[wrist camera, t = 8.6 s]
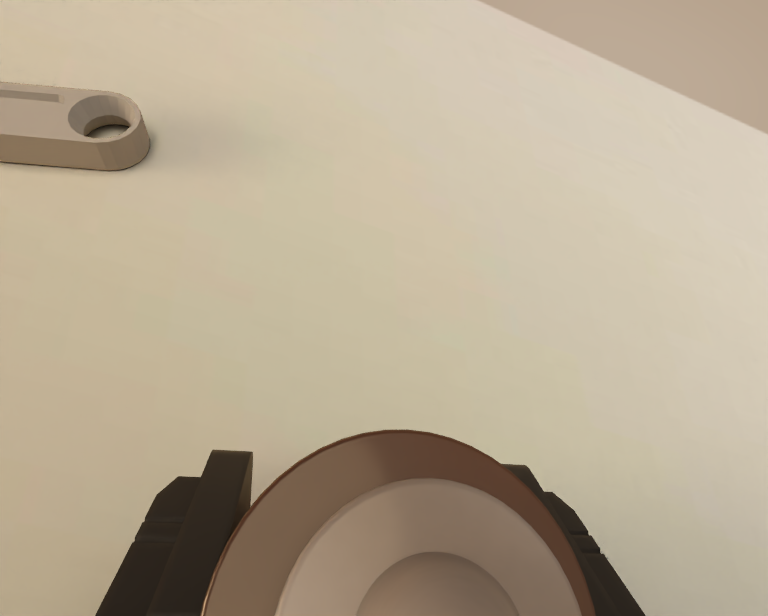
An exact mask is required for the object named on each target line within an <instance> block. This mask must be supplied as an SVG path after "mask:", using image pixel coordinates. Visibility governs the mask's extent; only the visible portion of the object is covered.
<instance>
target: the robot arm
mask: <svg viewBox="0 0 768 616" xmlns="http://www.w3.org/2000/svg"><path fill="white" fill-rule="evenodd" d="M501 465H503V466H504V467H506V468H507V469H508V470H510V471H511V472H512V473H513V474H514V475H515V476H517V477H518V478H519V479H520V480H521V481H522V482H523V483H524V484H525V485H526V486H527V487H529V488H530V490H531V491H532V492H533V493H534V494H535V495H536V496H537V498H538V499H539V500H540V501H541V502H542V503H543V504H544V506H545V507H546V508H547V510H548V511H549V512H550V514H551V515H552V517H553V518H554V520H555V521H556V522H557V524H558V525H559V527H560V528H561V530H562V532H563V533H564V535H565V537H566V539H567V541H568V542H569V544H570V546H571V548H572V550H573V552H574V554H575V556H576V558H577V561H578V563H579V565H580V568H581V570H582V572H583V575H584V577H585V580H586V583H587V586H588V589H589V593H590V596H591V599H592V602H593V605H594V610H595V615H596V616H645V614H644V613H643V611H642V610H641V608H640V607H639V605H638V604H637V602H636V601H635V600H634V598H633V597H632V595H631V594H630V592H629V591H628V589H627V588H626V586H625V585H624V583H623V582H622V580H621V579H620V577H619V576H618V574H617V573H616V572H615V570H614V569H613V567H612V566H611V564H610V563H609V561H608V560H607V558H606V557H605V555H604V554H601V553H600V548H599V547H598V545H597V544H596V542H595V541H594V539H593V538H592V536H589V535H588V530H587V529H586V527H585V526H584V524H583V523H582V522H581V520H580V519H579V517H578V516H577V514H576V513H575V511H574V510H573V509H572V508H571V507H569V506H568V505H567V504H566V503H565V502H563V501H562V500H561V499H560V498H559V497H557V496H556V495H555V494H554V493H553V492H544V491H543V490H542V488H541V487H540V485H539V483H538V482H537V480H536V479H535V477H534V475H533V474H532V472H531V471H530V469H529V468H528V467H527V466H525V465H512V464H501ZM252 467H253V452H247V451H228V450H212V452H211V454H210V456H209V459H208V461H207V464H206V466H205V469H204V471H203V474H202V476H201V477H182V476H178V477H177V478H176V479H175V480H174V481H172V482H171V483H170V484H169V485H168V486H167V487H165V488H164V489H163V490H162V491H161V492H160V493H158V494H157V495H156V497H155V499H154V501H153V503H152V505H151V507H150V509H149V511H148V513H147V515H146V517H145V521H144V522H143V523H142V525H141V527H140V529H139V531H138V533H137V535H136V537H135V541H134V542H133V543H132V544H131V546H130V548H129V550H128V552H127V554H126V556H125V558H124V560H123V562H122V564H121V566H120V568H119V570H118V572H117V574H116V576H115V578H114V580H113V582H112V584H111V586H110V588H109V590H108V592H107V594H106V596H105V598H104V599H103V601H102V603H101V605H100V607H99V609H98V611H97V613H96V615H95V616H200V614H201V609H202V605H203V601H204V598H205V595H206V592H207V589H208V586H209V583H210V580H211V577H212V574H213V571H214V569H215V567H216V565H217V563H218V561H219V558H220V556H221V554H222V552H223V550H224V548H225V546H226V544H227V542H228V540H229V538H230V537H231V535H232V534H233V532H234V530H235V529H236V527H237V526H238V524H239V522H240V521H241V519H242V517H243V516H244V515H245V514H246V512H247V511H248V510H249V509H250V501H251V484H252Z"/></svg>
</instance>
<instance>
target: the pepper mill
mask: <svg viewBox="0 0 768 616" xmlns="http://www.w3.org/2000/svg"><path fill="white" fill-rule="evenodd" d="M200 616H596V615H595V610H594V605H593V602H592V599H591V596H590V593H589V589H588V586H587V583H586V580H585V577H584V575H583V572H582V570H581V568H580V565H579V563H578V561H577V558H576V556H575V554H574V552H573V550H572V548H571V546H570V544H569V542H568V541H567V539H566V537H565V535H564V533H563V532H562V530H561V528H560V527H559V525H558V524H557V522H556V521H555V520H554V518H553V517H552V515H551V514H550V512H549V511H548V510H547V508H546V507H545V506H544V504H543V503H542V502H541V501H540V500H539V499H538V498H537V496H536V495H535V494H534V493H533V492H532V491H531V490H530V488H529V487H527V486H526V485H525V484H524V483H523V482H522V481H521V480H520V479H519V478H518V477H517V476H515V475H514V474H513V473H512V472H511V471H510V470H508V469H507V468H506V467H504V466H503V465H501V464H500V463H499V462H497V461H496V460H495V459H493V458H492V457H490V456H488V455H486V454H485V453H483V452H481V451H479V450H477V449H476V448H474V447H472V446H470V445H467V444H465V443H462V442H460V441H457V440H455V439H452V438H449V437H445V436H441V435H438V434H434V433H430V432H422V431H415V430H381V431H374V432H367V433H362V434H358V435H355V436H351V437H348V438H344V439H341V440H339V441H336V442H334V443H332V444H329V445H327V446H325V447H322V448H320V449H318V450H317V451H315V452H313V453H311V454H310V455H308V456H306V457H305V458H303V459H301V460H300V461H298V462H297V463H296V464H294V465H293V466H292V467H291V468H289V469H288V470H287V471H285V472H284V473H283V474H282V475H280V476H279V477H278V478H277V479H276V480H275V481H274V482H273V483H272V484H271V485H270V486H269V487H268V488H267V489H266V490H265V491H264V492H263V493H262V494H261V495H260V496H259V497H258V498H257V500H256V501H255V502H254V504H253V505H252V506H251V507H250V509H249V510H248V511H247V512H246V514H245V515H244V516H243V517H242V519H241V521H240V522H239V524H238V526H237V527H236V529H235V530H234V532H233V534H232V535H231V537H230V538H229V540H228V542H227V544H226V546H225V548H224V550H223V552H222V554H221V556H220V558H219V561H218V563H217V565H216V567H215V569H214V571H213V574H212V577H211V580H210V583H209V586H208V589H207V592H206V595H205V598H204V601H203V605H202V609H201V614H200Z"/></svg>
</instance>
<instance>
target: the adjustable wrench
mask: <svg viewBox="0 0 768 616" xmlns="http://www.w3.org/2000/svg"><path fill="white" fill-rule="evenodd" d="M109 124H120V125H126V126H129V127H130V128H129V129H127V130H126V131H125V132H123V133H121V134H119V135H117V136H114V137H110V138H98V139H96V138H90V137H85V136H86V135H87V134H89V133H90V132H91V131H92V130H94V129H96V128H98V127H100V126H104V125H109ZM149 148H150V140H149V137H148V133H147V130H146V127H145V124H144V121H143V118H142V115H141V112H140V110H139V108H138V106H137V104H136V103H135V102H134V101H132V100H131V99H130V98H128V97H126V96H124V95H122V94H119V93H114V92H109V91H98V90H87V89H76V88H65V87H53V86H42V85H31V84H20V83H8V82H0V161H2V162H14V163H26V164H37V165H49V166H61V167H73V168H85V169H97V170H121V169H124V168H128V167H131V166H133V165H135V164H137V163H138V162H140V161H141V160H142V159H143V158H144V157H145V156H146V155H147V153H148V150H149Z"/></svg>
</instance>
